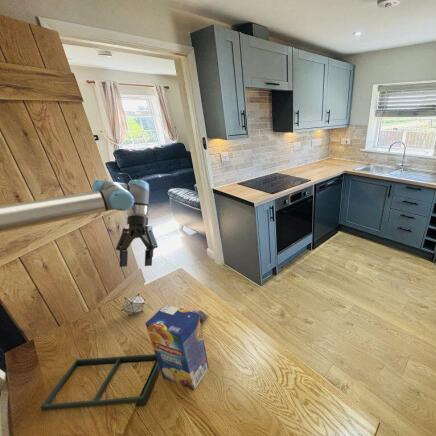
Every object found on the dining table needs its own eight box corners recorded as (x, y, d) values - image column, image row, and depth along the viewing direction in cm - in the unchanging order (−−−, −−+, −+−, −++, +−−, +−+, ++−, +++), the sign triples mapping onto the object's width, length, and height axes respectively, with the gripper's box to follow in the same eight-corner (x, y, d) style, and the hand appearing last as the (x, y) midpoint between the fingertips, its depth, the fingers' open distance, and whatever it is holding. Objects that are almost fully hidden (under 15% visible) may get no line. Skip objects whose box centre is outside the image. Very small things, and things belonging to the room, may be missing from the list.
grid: (45, 414, 66) (39, 407, 64) (80, 366, 78) (76, 359, 77) (145, 405, 68) (143, 398, 67) (164, 360, 81) (162, 353, 79)
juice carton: (209, 367, 79) (198, 314, 69) (194, 390, 72) (180, 334, 62) (179, 357, 82) (165, 304, 72) (162, 378, 75) (144, 323, 66)
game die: (140, 320, 100) (135, 316, 92) (120, 314, 99) (112, 310, 91) (152, 299, 105) (148, 294, 97) (132, 294, 104) (127, 288, 96)
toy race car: (178, 310, 101) (175, 298, 98) (207, 320, 96) (205, 308, 94) (159, 327, 93) (156, 315, 90) (190, 340, 88) (187, 327, 85)
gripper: (168, 214, 102) (166, 264, 99) (124, 219, 109) (121, 266, 106) (153, 212, 95) (151, 266, 92) (107, 217, 102) (104, 267, 99)
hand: (135, 266), depth 99 cm, fingers open, 13 cm apart
